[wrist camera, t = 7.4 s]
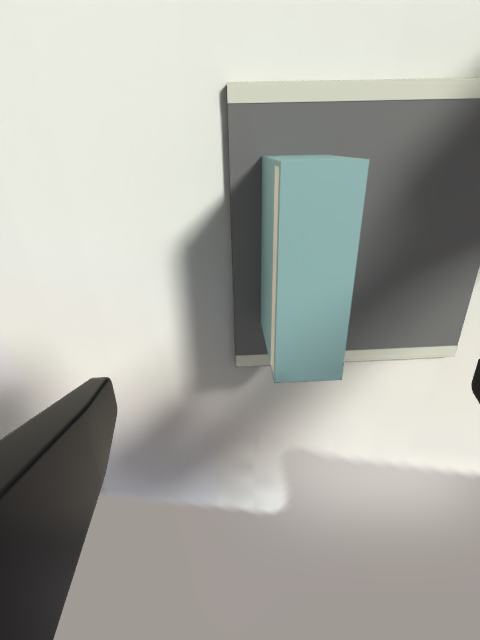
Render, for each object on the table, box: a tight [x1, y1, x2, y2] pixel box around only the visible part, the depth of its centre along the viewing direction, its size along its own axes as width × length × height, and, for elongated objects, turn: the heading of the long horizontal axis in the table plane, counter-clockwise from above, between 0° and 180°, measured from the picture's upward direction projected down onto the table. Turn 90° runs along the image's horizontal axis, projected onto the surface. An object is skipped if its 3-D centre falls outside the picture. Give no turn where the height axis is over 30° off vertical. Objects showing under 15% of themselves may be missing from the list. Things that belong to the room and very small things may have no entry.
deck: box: [261, 155, 370, 383], centre depth 17 cm, size 3×9×6 cm, turn 1°
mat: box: [227, 78, 480, 367], centre depth 20 cm, size 14×15×1 cm
